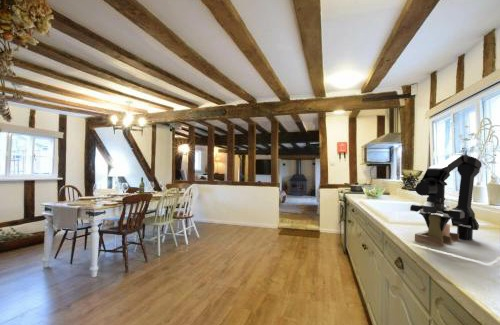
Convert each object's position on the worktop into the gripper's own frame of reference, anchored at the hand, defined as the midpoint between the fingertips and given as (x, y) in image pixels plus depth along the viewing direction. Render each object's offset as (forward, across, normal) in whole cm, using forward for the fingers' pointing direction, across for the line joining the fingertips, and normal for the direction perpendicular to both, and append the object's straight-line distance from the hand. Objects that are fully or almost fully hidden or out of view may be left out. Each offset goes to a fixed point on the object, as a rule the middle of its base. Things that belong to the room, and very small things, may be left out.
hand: (435, 230), depth 110 cm
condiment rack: (+6, -1, +5) cm, 8 cm away
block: (+5, 0, +9) cm, 11 cm away
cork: (+4, 0, 0) cm, 4 cm away
